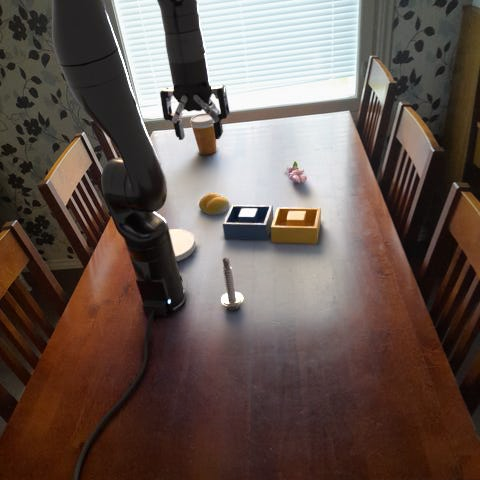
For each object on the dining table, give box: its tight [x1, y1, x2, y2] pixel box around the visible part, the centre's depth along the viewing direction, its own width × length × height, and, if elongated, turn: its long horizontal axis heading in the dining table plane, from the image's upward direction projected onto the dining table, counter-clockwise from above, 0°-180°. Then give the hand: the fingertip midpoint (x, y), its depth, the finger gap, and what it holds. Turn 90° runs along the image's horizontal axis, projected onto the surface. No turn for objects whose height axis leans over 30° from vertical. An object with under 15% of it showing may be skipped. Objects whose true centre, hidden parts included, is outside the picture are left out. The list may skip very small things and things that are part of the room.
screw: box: [220, 257, 244, 311], centre depth 96 cm, size 13×5×5 cm
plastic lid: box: [169, 228, 197, 262], centre depth 119 cm, size 14×14×2 cm
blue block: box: [238, 208, 259, 223], centre depth 122 cm, size 4×4×4 cm
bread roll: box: [198, 192, 230, 216], centre depth 133 cm, size 8×9×4 cm
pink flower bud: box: [284, 160, 308, 184], centre depth 140 cm, size 6×6×15 cm
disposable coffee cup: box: [189, 112, 217, 156], centre depth 163 cm, size 10×10×12 cm
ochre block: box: [286, 211, 306, 226], centre depth 118 cm, size 4×4×4 cm
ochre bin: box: [270, 206, 322, 244], centre depth 118 cm, size 10×12×4 cm
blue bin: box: [222, 204, 274, 241], centre depth 122 cm, size 10×12×4 cm
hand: (200, 138), depth 101 cm, fingers open, 8 cm apart
